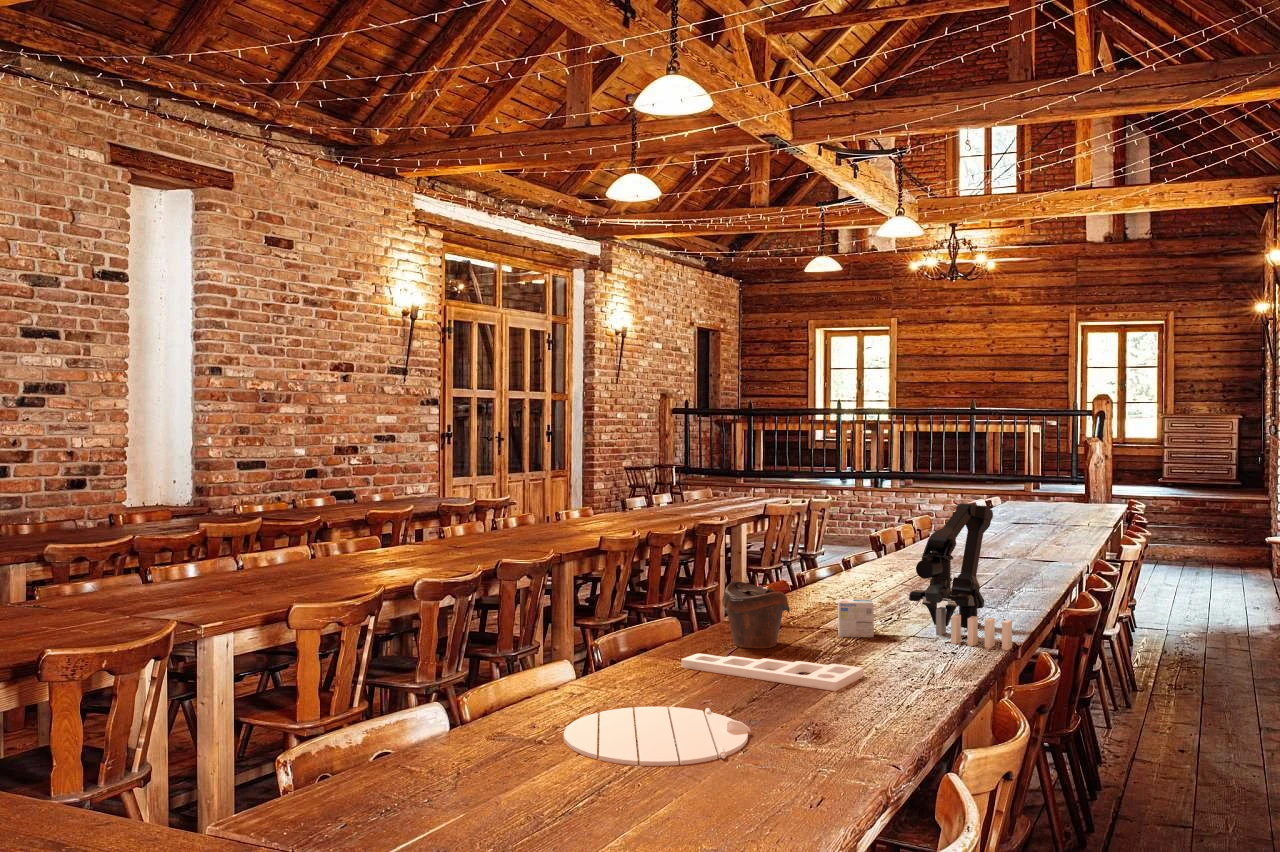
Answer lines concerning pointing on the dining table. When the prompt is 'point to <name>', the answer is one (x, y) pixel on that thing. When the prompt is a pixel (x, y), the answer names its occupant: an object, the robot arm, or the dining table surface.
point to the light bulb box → (855, 618)
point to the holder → (777, 670)
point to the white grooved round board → (656, 736)
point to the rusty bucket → (754, 614)
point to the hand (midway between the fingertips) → (941, 625)
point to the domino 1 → (940, 620)
